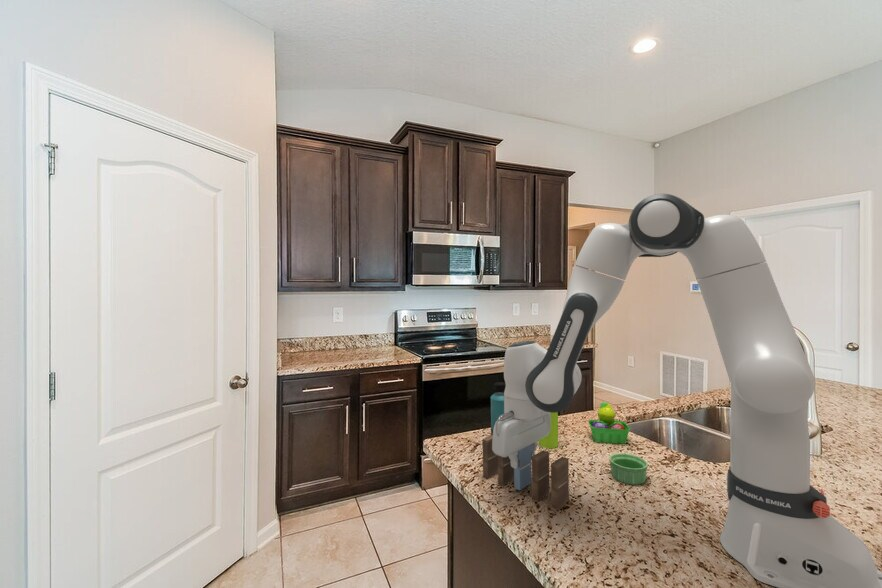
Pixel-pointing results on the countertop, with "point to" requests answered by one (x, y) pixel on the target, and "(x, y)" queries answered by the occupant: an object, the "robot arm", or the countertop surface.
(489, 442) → the domino
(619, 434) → the fruit basket
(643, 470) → the ramekin
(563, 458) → the domino
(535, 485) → the domino
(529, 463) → the domino
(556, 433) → the soap dispenser
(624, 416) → the countertop surface
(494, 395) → the beverage bottle
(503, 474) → the domino
